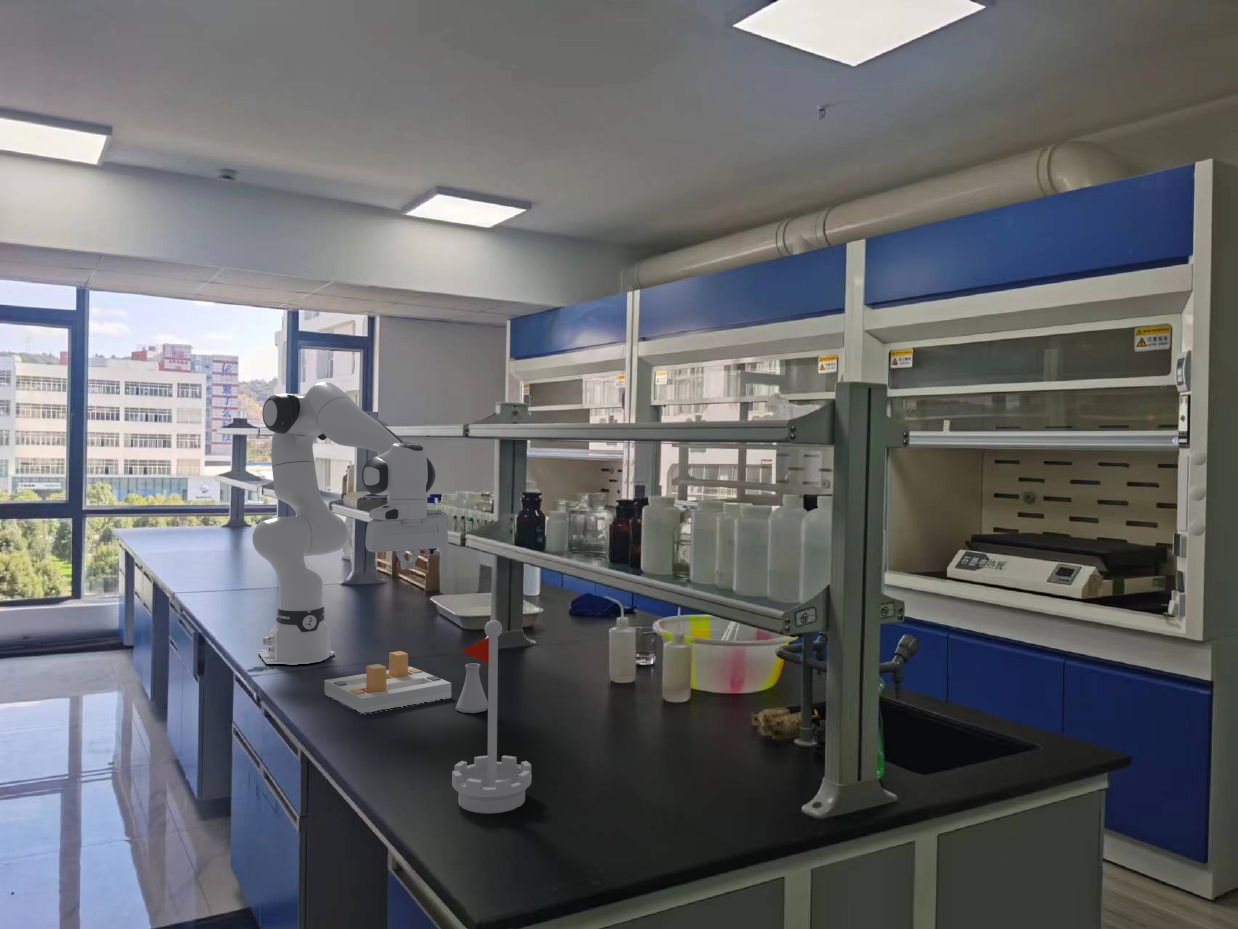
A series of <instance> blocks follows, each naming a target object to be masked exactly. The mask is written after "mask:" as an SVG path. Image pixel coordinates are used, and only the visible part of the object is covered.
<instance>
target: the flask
mask: <svg viewBox="0 0 1238 929" xmlns="http://www.w3.org/2000/svg"><path fill="white" fill-rule="evenodd" d="M480 667H481V664H479V663H473V662H470V663H466V664H465V665H464V668H465V669H466V672H465V673H466V674H465V679H464V684H463V687H462V689H461V693H460V695H459V698H458V701H457V703H456V706H455V709H454V710H455V711H458V712H460V713H464V714H465V713H466V714H467V713H468V714H477V713H482V712H486V711H488V699H487V698H488V697H487V696H486V694H485V691H484V687H483V685H482V682H481V677H480Z"/></svg>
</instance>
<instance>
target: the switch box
mask: <svg viewBox="0 0 1238 929" xmlns="http://www.w3.org/2000/svg"><path fill="white" fill-rule="evenodd" d="M387 674H389V669H386V689H387V690H386V691H380V692H375V693H366V692H364V689H366V673H361V674H356V675H355V674H354V675H350V676H343V677H336V678H328V679H324V680H323V681H324V684H323V685H324V686H323V687H324V690H323V691H324V692H325V693H326V694H329V695H330V696H333V697H334V698H335V699H338V700H339V701H340V702H343V703H344V704H347V705H348V706H350V707H352V708H353V709H356V710H357V711H358V712H361V713H364V712H373V711H377V710H381V709H390V708H394V707H401V708H404V707H403V706H406V707H408V706H407V705H411V706H413V705H412V704H416V705H421V704H420V703H422V704H425V703H424V702H427V703H432V702H436V700H437V701H441V700H440V699H443V700H447V699H451V698H452V682H450V681H447V680H445V679H442V678H440V677H438V676H435V675H432V674H431V673H427V672H425V671H423V670H422V669H419V668H416V667H412V666H408V675H409V676H403V677H397V678H391V679H387ZM324 692H323V693H324ZM390 710H391V709H390Z"/></svg>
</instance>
